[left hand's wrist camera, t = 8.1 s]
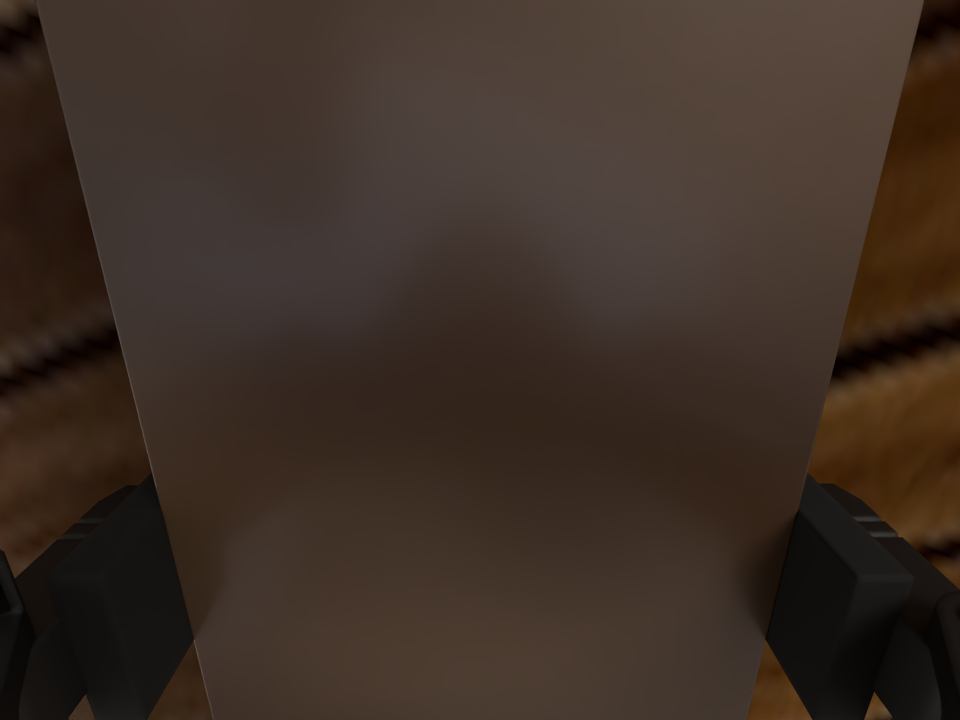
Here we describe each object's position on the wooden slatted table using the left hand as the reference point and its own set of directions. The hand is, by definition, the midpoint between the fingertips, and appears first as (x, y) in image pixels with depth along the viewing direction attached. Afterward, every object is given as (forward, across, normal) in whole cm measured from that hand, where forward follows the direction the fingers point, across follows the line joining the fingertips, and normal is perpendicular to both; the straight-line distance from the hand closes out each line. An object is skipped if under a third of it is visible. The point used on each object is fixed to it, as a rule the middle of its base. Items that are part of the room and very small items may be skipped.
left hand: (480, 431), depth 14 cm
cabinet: (+4, 0, -4) cm, 6 cm away
